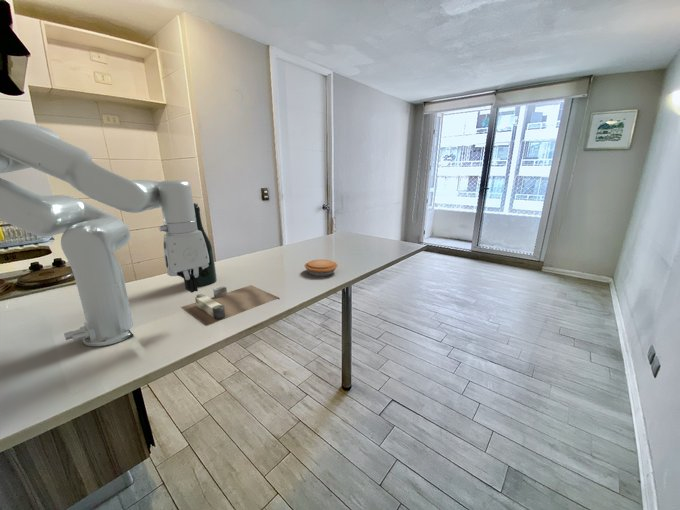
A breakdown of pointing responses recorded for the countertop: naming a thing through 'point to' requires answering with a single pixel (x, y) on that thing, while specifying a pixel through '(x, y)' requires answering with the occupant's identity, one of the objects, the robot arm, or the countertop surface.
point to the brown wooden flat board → (231, 302)
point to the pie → (321, 267)
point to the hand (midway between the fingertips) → (192, 290)
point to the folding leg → (210, 306)
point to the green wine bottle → (209, 273)
